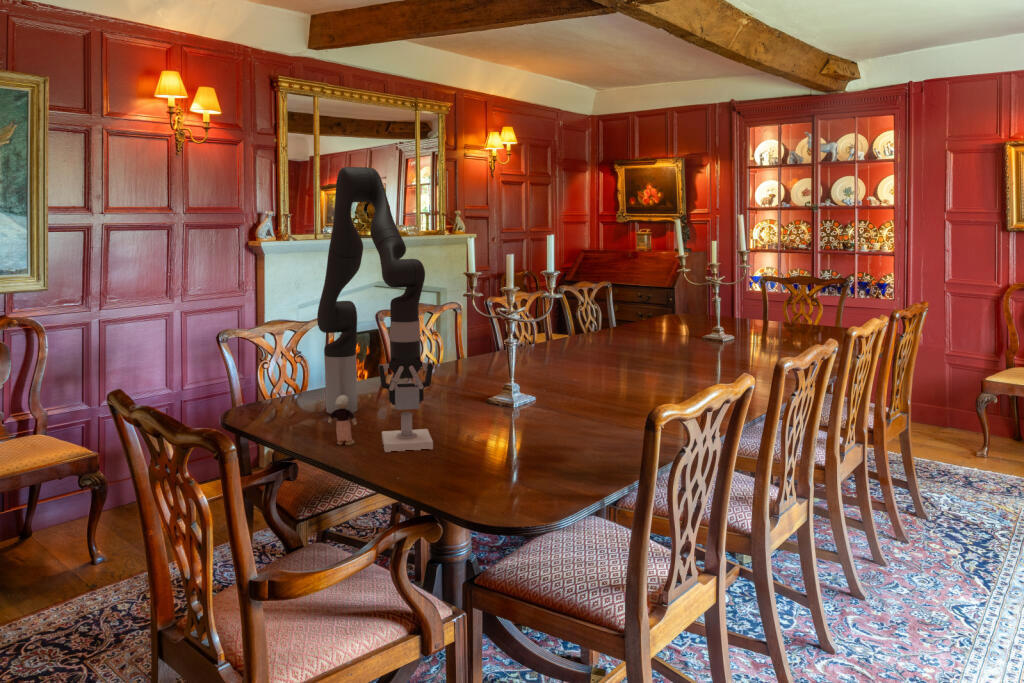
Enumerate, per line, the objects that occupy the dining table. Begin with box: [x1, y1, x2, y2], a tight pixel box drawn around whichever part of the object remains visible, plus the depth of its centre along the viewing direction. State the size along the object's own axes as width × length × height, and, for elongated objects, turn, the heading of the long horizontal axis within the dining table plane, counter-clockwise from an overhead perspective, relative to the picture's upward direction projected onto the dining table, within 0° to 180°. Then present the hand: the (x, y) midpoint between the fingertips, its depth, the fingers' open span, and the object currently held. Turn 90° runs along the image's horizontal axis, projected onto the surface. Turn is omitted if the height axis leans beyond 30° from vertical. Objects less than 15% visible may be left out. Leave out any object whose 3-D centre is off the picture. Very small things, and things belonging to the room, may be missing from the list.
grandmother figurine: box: [327, 395, 358, 446], centre depth 194 cm, size 8×4×13 cm, turn 92°
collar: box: [393, 382, 420, 411], centre depth 192 cm, size 6×6×6 cm
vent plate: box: [381, 411, 434, 453], centre depth 194 cm, size 12×12×8 cm
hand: (406, 403), depth 193 cm, fingers closed on collar, 6 cm apart
